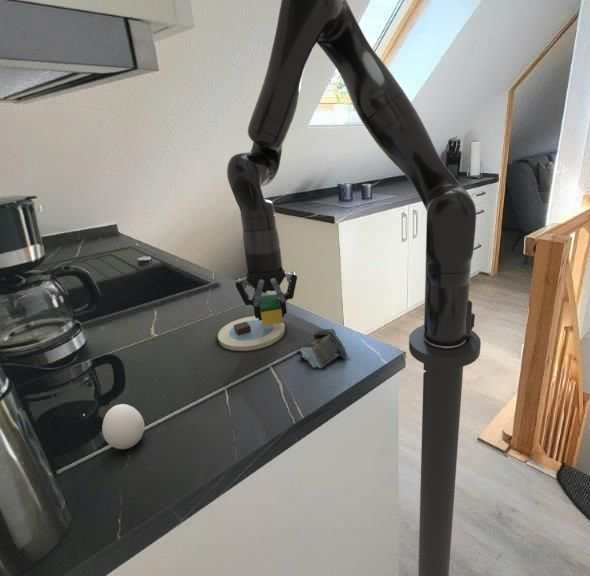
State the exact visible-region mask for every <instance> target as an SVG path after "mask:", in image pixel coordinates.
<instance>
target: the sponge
mask: <svg viewBox="0 0 590 576" xmlns="http://www.w3.org/2000/svg"><path fill="white" fill-rule="evenodd" d="M279 300H280V299H279V297H278V295H277V293H275V294H267V295H261V298H260V301H259V305H260V311H261V318H262V324H263V326H266V325H273V324H279V323H284V320H283V317H282V311H281V304H280V301H279Z"/></svg>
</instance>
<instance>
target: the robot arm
mask: <svg viewBox="0 0 590 576" xmlns="http://www.w3.org/2000/svg"><path fill="white" fill-rule="evenodd" d="M316 44H317V45H318V46H319V47H320V49H321V50H322V51H323V53H325V54H326V56H327V57H328V59H329V60H330V61H331V63H332V65H333V66H334V67H335V68H336V71H338V73H339V75H340V77H341V79H342V81H343V83H344V86H345V88H346V91H347V94H348V96H349V98H350V101H351V103H352V106H353V108H354V109H355V110H354V111H355V112H356V114H357V116H358V117H359V120H360V121H361V123H362V124H363V126H364V127H365V129H366V130H367V132H368V133H369V135H370V136H371V137H372V139H373V140H374V141H375V143H376V144H377V146H378V147H379V148H380V150H381V151H382V152H383V153H384V154H385V155H386V156H387V158H389V160H390V161H391V162H392V163H393V164H394V165H395V166H396V167H397V168H398V169H399V170H400V171H401V172H402V173H403V175H405V177H407V180H408V181H409V182H410V183H411V184H412V186H413V188H414V189H415V191H416V193H417V195H418V197H419V199H420V200H421V202H422V204H423V206H424V209H425V210H426V225H425V226H426V227H425V229H426V231H425V232H426V233H425V238H426V239H425V271H424V275H425V276H424V313H423V314H424V317H423V323H422V326H423V328H424V334H423V340H424V342H425V343H426V344H427V345H429V346H431V347H433V348H436V349H441V350H453V349H457V348H460V347H462V346H463V345H464V344H465V343H466V342H469V341H470V332H471V330H472V331H473V328H474V327H475V318H476V317H475V316H476V314H475V313H474V312H472V311H473V302H472V301H471V300H470V299H469V298H470V285H471V284H470V283H471V272H472V271H471V269H472V268H471V267H472V259H473V255H474V250H475V249H474V248H475V240H476V238H475V237H476V226H477V208H476V204H475V202H474V200H473V198H472V196H471V195H470V193H469V192H468V191H467V190H466V189H465V188H464V187H463V186H462V184H461V183H460V182H459V181H458V179H456V177H455V176H454V174H453V173H452V172H451V171H450V170H449V168H448V167H447V165H446V164H445V163H444V161H443V160H442V159H441V156H440V155H439V153H438V152H437V149H436V147H435V146H434V145H435V144H434V143H433V140H432V139H431V136H430V135H429V132H428V131H427V128H426V127H425V125H424V122H423V121H422V119H421V117H420V115H419V114H418V112H417V110H416V108H415V107H414V104H413V103H412V101H411V100H410V99H409V97H408V95H407V94H406V93H405V91H404V90H403V88H402V87H401V85H400V84H399V83H398V81H397V80H396V79H397V78H395V77H394V75H393V74H392V73H391V71H390V70H389V69H388V67H387V65H386V64H385V63H384V62H383V61H382V59H381V58H380V57H379V55H378V54H377V53H376V52H375V50H374V49H373V48H372V46H371V44H370V43H369V42H368V40H367V38H366V36H365V34H364V32H363V31H362V28H361V27H360V24H359V23H358V21H357V19H356V17H355V15H354V13H353V11H352V9H351V6H350V5H349V3H348V1H347V0H281V1H280V6H279V12H278V17H277V24H276V30H275V34H274V39H273V43H272V48H271V52H270V56H269V57H270V58H269V61H268V65H267V69H266V73H265V77H264V80H263V83H262V85H261V89H260V92H259V94H258V98H257V100H256V102H255V106H254V109H253V112H252V115H251V118H250V120H249V123H248V126H247V135H248V138H249V139H250V140H251V141H252V146H251V149H250V151H249V152H248V151H247V152H239V153H236V154H234V155H233V156H231V157H230V158H229V161H228V163H227V166H226V177H227V181H228V184H229V187H230V189H231V192H232V194H233V196H234V199H235V202H236V204H237V206H238V208H239V212H240V219H241V226H242V227H241V228H242V241H243V242H242V243H243V249H244V254H245V255H244V256H245V261H246V262H245V263H246V268H247V273H246V275H245V277H242V278H236V279H235V280H234V284H235V287H236V290H237V291H238V293H239V296H240V298H241V299H242V301H243V303H244V305H245V306H252V308H253V310H254V311H253V312H254V313H253V314H254V316H255V317H256V319H257V318H258V319H259V320H262V318H261V311H260V305H259V301H260V298H261V296H262V294H263V293H267V292H275V294H277V295H278V297H279V301H280V304H281V311H282V318H284V317H285V315H287V313H288V311H287V303H286V302H287V301H289V300H292V299H293V298H294V295H295V290H296V286H297V280H298V276H297V273H296V272H295V271H291V272H286V271H285V270H284V268H283V262H282V261H283V259H282V252H281V242H280V236H279V231H278V226H277V220H276V210H275V204H274V203H273V201H271V200H270V199H268V198H265V197H264V194H263V191H262V187H265V186H268V185H269V184H271V183H272V182H273V181H274V179H275V178H276V176H277V174H278V171H279V169H280V165H281V159H282V153H283V144H284V141H285V140H286V137H287V135H288V133H289V130H290V128H291V125H292V123H293V120H294V118H295V114H296V111H297V107H298V103H299V96H300V91H301V84H302V80H303V79H302V78H303V74H304V71H305V68H306V65H307V62H308V60H309V58H310V55H311V54H312V51H313V49H314V48H315V46H316ZM285 278H286V281H287V282H288V284H287V289H286V292H284V291H283V290H282V287H281V284H282V283H283V282H284V280H285ZM247 283H249V284H250V286H252V287H253V288H254V291H253V297H250V296H249V294H248V292H247V290H246V288H247Z"/></svg>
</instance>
